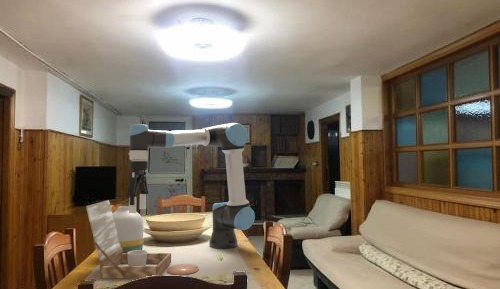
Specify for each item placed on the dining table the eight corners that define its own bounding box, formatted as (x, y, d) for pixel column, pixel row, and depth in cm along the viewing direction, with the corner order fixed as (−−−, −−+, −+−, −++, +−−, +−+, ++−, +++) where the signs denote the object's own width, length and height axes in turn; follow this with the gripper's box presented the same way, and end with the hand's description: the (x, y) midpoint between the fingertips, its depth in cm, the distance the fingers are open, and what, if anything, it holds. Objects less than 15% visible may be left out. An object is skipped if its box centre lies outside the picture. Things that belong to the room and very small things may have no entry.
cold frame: (171, 263, 170) (171, 199, 171) (157, 279, 147) (157, 205, 148) (107, 263, 170) (107, 200, 172) (83, 279, 147) (84, 206, 149)
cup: (131, 267, 164) (131, 248, 165) (149, 266, 165) (149, 248, 165) (125, 274, 153) (125, 254, 154) (145, 273, 154) (145, 254, 154)
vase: (121, 263, 170) (122, 209, 171) (98, 258, 179) (98, 207, 180) (150, 255, 185) (150, 205, 186) (127, 251, 194) (127, 203, 195)
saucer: (200, 266, 165) (200, 264, 165) (195, 274, 152) (195, 272, 152) (171, 266, 165) (171, 264, 165) (163, 274, 152) (163, 272, 152)
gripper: (139, 160, 174) (138, 207, 173) (119, 160, 149) (118, 215, 148) (155, 160, 174) (154, 207, 173) (138, 160, 149) (137, 215, 148)
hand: (137, 211), depth 160 cm, fingers open, 13 cm apart
